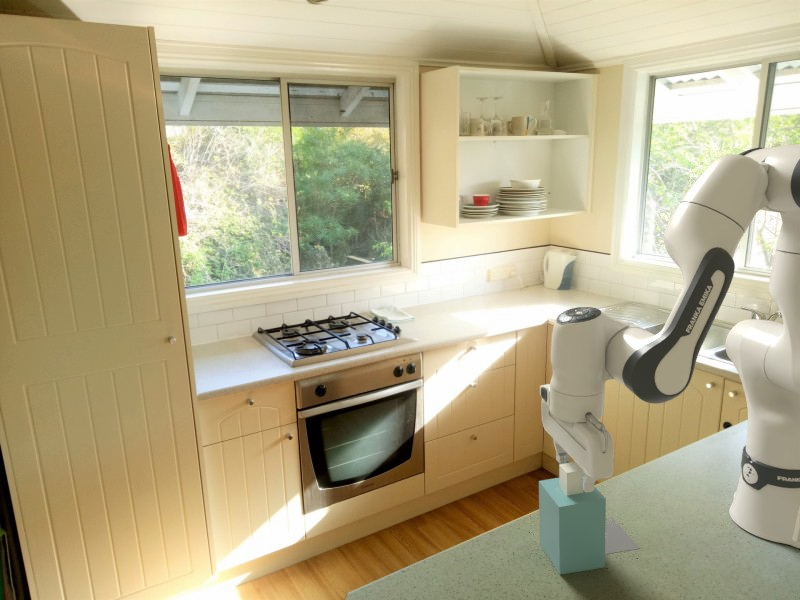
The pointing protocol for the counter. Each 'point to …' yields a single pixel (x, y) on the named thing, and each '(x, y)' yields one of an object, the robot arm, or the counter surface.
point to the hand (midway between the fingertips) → (574, 475)
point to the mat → (617, 538)
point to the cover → (572, 522)
